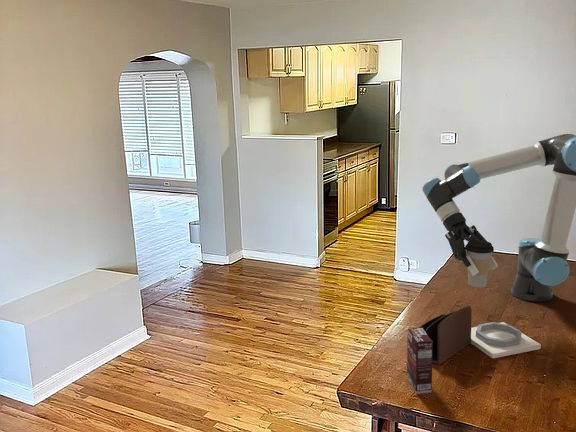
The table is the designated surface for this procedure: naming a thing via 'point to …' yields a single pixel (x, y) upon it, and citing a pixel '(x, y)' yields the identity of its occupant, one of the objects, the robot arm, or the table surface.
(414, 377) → the supplement box
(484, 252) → the coffee cup
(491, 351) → the dock board
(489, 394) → the table surface
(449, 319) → the letter holder
